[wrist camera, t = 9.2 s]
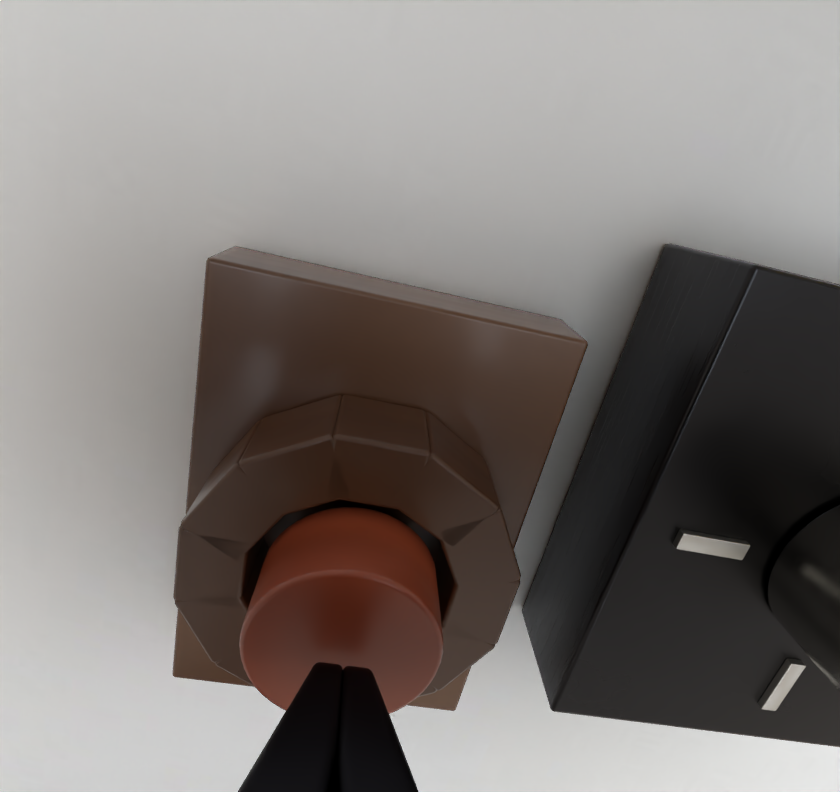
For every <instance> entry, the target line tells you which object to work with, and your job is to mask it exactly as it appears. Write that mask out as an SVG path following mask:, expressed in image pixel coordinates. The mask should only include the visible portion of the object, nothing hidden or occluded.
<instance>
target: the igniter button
mask: <svg viewBox="0 0 840 792" xmlns="http://www.w3.org/2000/svg"><path fill="white" fill-rule="evenodd" d="M443 644H444V643H443V634H442V624H441V615H440V606H439V596H438V587H437V578H436V568H435V564H434V560H433V557H432V555H431V553H430V551H429V549H428V547H427V546H426V544H425V543H424V541H423V540H422V539H421V538H420V537H419V536H418V535H417V533H416V532H415V531H413V530H412V529H411V528H410V527H409V526H408V525H406V524H404V523H403V522H401V521H400V520H398V519H396V518H394V517H392V516H390V515H388V514H385V513H382V512H379V511H376V510H371V509H367V508H358V507H339V508H331V509H326V510H322V511H318V512H315V513H313V514H310V515H308V516H306V517H303V518H301V519H299V520H298V521H296V522H295V523H293V524H292V525H290V526H289V527H288V528H287V529H285V530H284V531H283V532H282V533H281V534H280V535H279V536H278V537H277V538H276V540H275V541H274V542H273V544H272V545H271V547H270V548H269V550H268V553H267V555H266V557H265V560H264V563H263V566H262V569H261V572H260V575H259V578H258V581H257V584H256V587H255V589H254V592H253V595H252V598H251V601H250V604H249V607H248V610H247V613H246V616H245V619H244V622H243V625H242V629H241V633H240V642H239V648H240V655H241V660H242V664H243V667H244V670H245V672H246V674H247V676H248V678H249V679H250V681H251V682H252V683H253V685H254V686H255V687H256V688H257V690H258V691H259V692H260V693H261V694H262V695H263V696H265V697H266V698H267V699H268V700H270V701H271V702H272V703H274V704H276V705H277V706H279V707H280V708H282V709H284V710H286V711H287V709H288V707H289V706H290V704H291V702H292V701H293V699H294V697H295V696H296V694H297V692H298V691H299V689H300V687H301V686H302V684H303V682H304V681H305V679H306V677H307V676H308V674H309V672H310V671H311V669H312V667H313V666H314V665H315V664H316V663H318V662H324V663H332V664H339V665H341V666H342V668H343V669H344V668H345V667H346V666H355V667H363V668H368V669H370V670H371V671H372V672H373V674H374V677H375V679H376V682H377V684H378V687H379V690H380V692H381V695H382V698H383V700H384V703H385V705H386V708H387V711H388V713H389V714H390V713H392V712H395V711H397V710H399V709H400V708H402V707H404V706H406V705H407V704H409V703H410V702H412V701H413V700H415V699H416V698H417V697H418V696H419V695H420V694H421V693H422V692H424V690H425V689H426V688H427V687H428V686H429V684H430V683H431V681H432V680H433V678H434V677H435V675H436V673H437V670H438V668H439V666H440V663H441V659H442V655H443Z"/></svg>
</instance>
